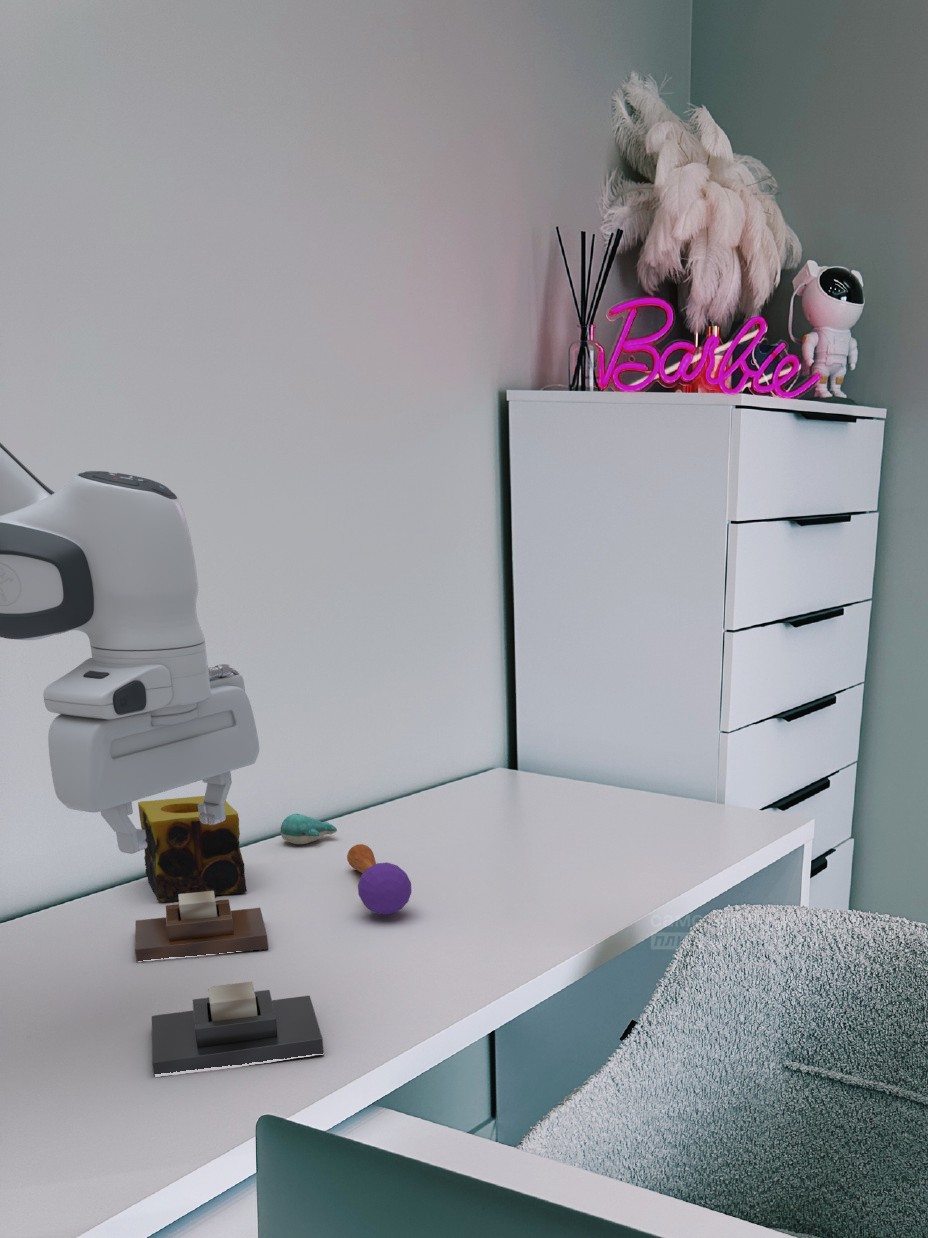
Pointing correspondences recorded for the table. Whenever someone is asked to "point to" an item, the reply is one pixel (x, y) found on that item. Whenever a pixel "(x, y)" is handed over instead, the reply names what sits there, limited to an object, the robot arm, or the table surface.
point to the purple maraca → (379, 882)
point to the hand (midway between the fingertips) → (174, 836)
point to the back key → (197, 905)
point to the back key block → (200, 933)
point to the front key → (232, 1001)
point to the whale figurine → (304, 829)
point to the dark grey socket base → (235, 1035)
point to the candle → (190, 849)
